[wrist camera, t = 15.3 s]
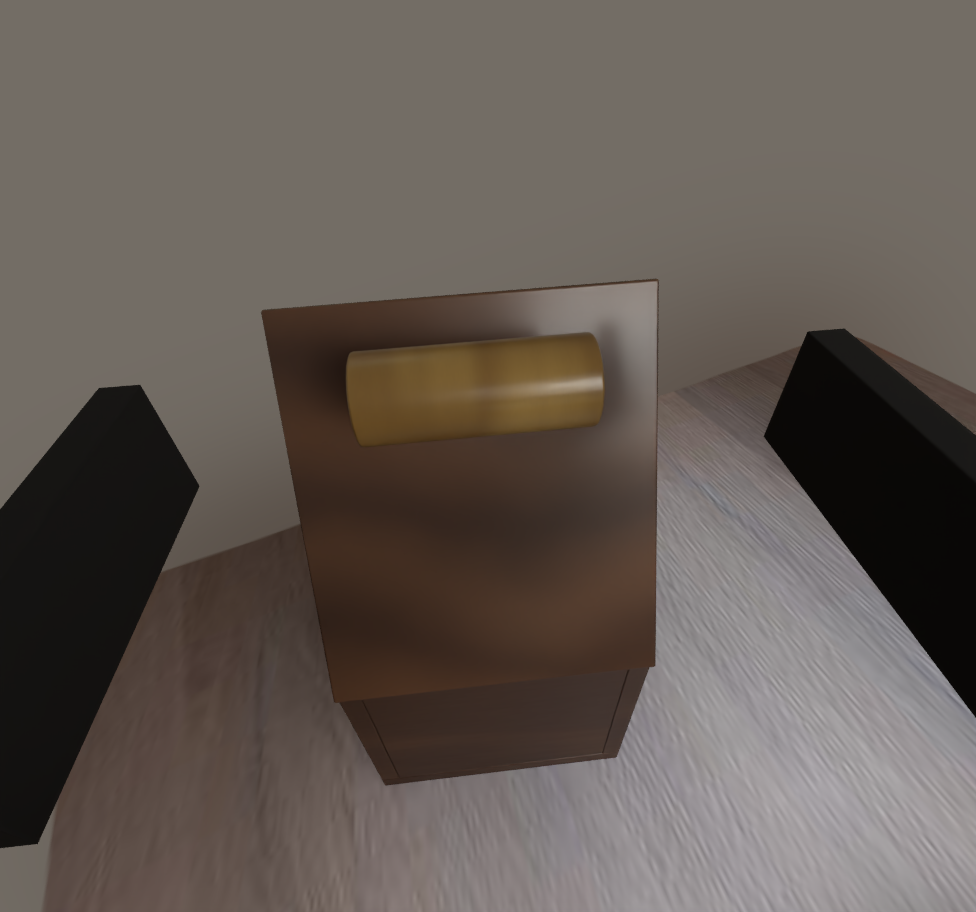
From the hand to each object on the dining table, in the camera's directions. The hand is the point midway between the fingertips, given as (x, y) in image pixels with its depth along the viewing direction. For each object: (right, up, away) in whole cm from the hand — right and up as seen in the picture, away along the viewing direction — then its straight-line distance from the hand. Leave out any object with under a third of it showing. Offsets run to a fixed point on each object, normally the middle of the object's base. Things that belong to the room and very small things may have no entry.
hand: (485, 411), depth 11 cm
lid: (0, -3, +8) cm, 9 cm away
